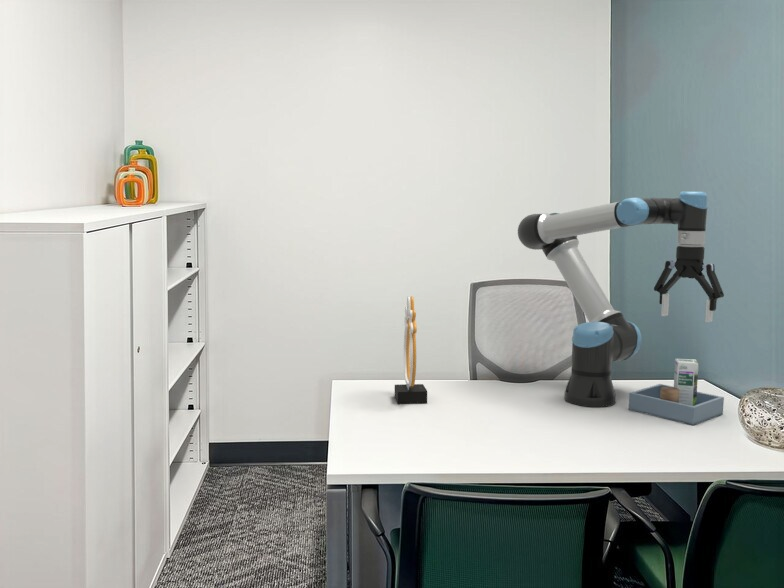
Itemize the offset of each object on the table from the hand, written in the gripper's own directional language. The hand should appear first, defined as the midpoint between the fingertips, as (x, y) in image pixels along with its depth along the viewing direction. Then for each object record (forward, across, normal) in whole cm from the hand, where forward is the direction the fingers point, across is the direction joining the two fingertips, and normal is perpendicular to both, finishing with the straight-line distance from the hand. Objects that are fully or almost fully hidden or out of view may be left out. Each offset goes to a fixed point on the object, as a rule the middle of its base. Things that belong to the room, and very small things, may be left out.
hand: (686, 318), depth 224 cm
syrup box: (+26, +2, -2) cm, 27 cm away
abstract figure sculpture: (+27, -57, -56) cm, 84 cm away
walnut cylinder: (+26, +1, -9) cm, 28 cm away
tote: (+27, +1, -5) cm, 27 cm away
